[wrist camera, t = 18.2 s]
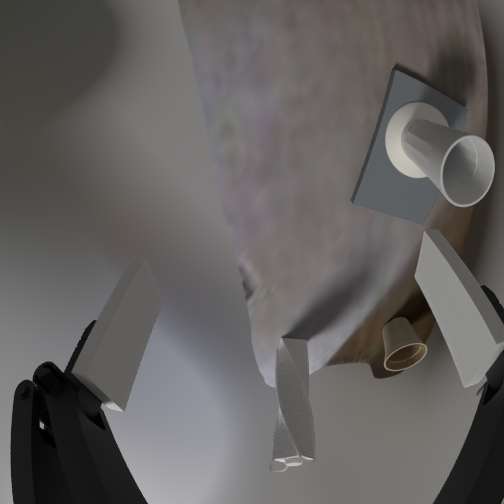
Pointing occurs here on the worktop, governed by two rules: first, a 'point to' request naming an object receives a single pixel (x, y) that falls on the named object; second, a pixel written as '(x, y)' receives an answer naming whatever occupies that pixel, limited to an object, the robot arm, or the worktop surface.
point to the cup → (450, 160)
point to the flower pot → (401, 345)
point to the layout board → (392, 156)
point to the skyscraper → (293, 406)
